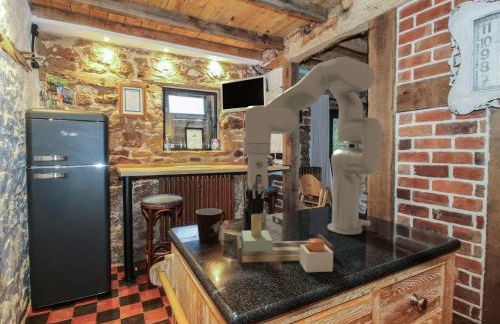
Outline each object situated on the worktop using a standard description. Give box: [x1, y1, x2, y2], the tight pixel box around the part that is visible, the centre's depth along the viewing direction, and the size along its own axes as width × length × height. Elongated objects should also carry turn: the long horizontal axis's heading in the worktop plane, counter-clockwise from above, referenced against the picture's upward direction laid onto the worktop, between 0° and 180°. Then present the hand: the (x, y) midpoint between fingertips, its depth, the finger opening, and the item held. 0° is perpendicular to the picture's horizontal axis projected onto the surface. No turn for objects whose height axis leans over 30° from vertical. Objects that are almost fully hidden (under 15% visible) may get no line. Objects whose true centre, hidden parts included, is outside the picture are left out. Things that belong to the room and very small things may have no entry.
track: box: [236, 234, 334, 263], centre depth 82 cm, size 27×10×4 cm, turn 96°
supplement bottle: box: [242, 198, 262, 231], centre depth 102 cm, size 7×7×12 cm
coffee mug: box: [195, 207, 226, 245], centre depth 92 cm, size 12×9×10 cm
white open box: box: [299, 244, 334, 273], centre depth 73 cm, size 7×6×5 cm
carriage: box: [241, 214, 274, 252], centre depth 80 cm, size 8×9×9 cm
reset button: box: [307, 238, 324, 252], centre depth 73 cm, size 4×4×3 cm
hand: (255, 208), depth 80 cm, fingers open, 9 cm apart
